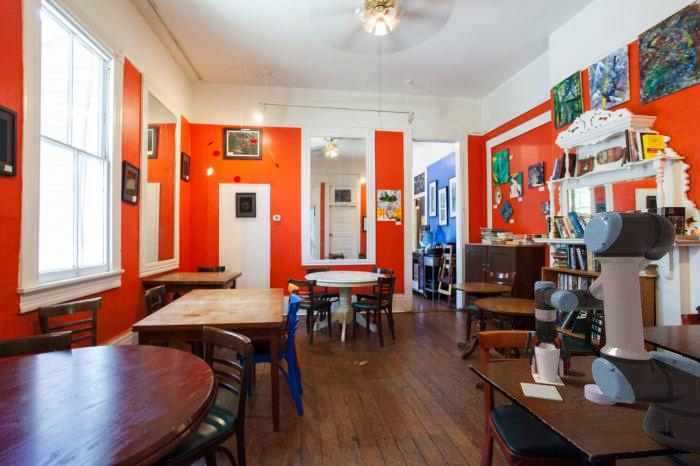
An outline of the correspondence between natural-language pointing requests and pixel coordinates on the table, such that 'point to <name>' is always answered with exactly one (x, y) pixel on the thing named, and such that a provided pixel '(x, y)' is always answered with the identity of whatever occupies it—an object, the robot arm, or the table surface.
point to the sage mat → (541, 391)
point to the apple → (568, 365)
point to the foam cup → (547, 361)
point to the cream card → (557, 382)
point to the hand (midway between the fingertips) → (547, 374)
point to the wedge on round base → (597, 395)
